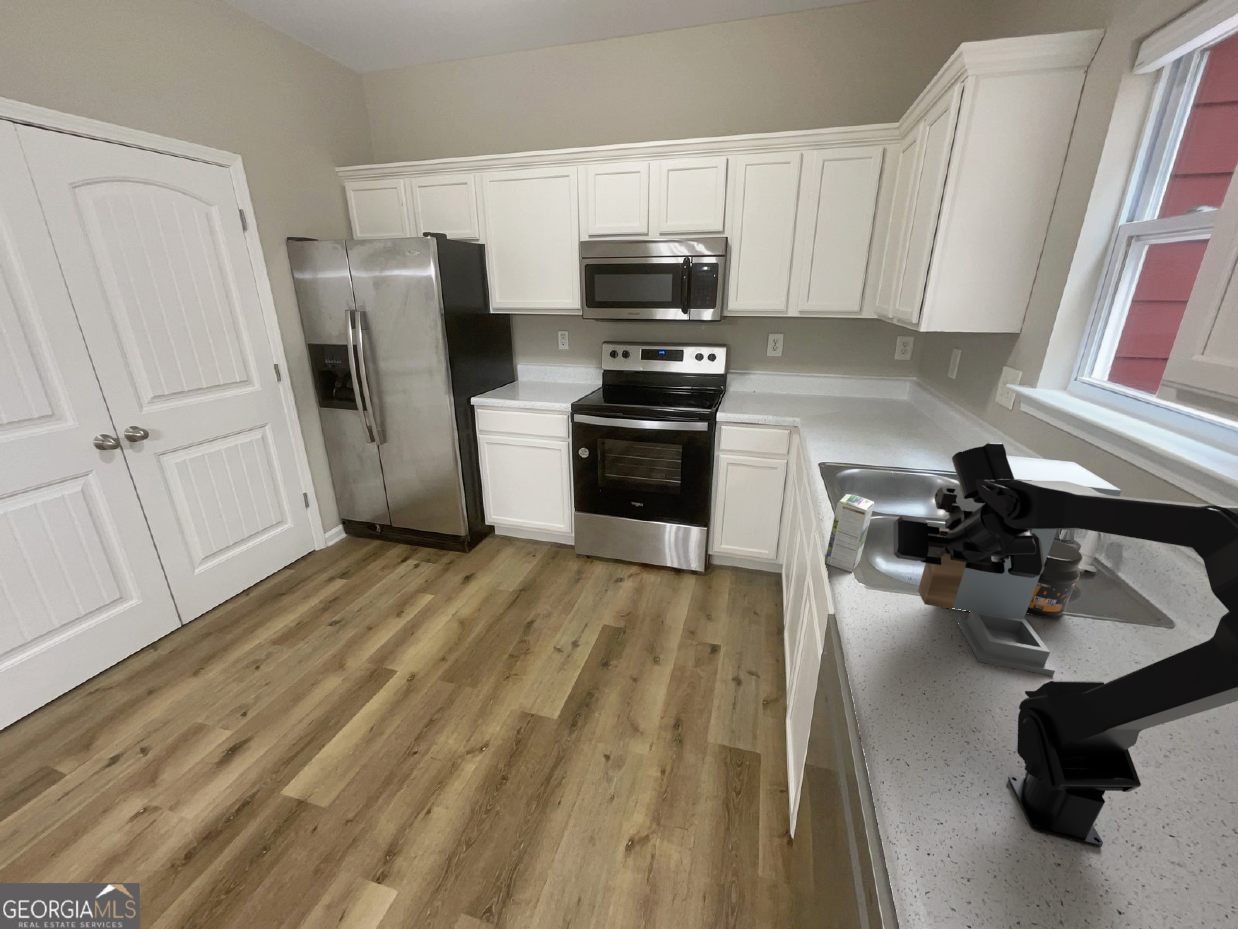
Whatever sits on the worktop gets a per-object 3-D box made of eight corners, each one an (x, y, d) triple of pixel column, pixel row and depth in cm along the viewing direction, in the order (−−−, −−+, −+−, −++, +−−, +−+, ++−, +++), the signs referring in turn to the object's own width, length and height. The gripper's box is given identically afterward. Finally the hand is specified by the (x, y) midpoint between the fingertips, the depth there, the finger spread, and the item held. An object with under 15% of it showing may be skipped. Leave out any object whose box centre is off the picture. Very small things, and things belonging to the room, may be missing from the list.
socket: (1053, 676, 76) (1060, 657, 75) (978, 661, 79) (984, 643, 78) (1023, 634, 85) (1029, 617, 84) (957, 622, 88) (962, 606, 87)
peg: (952, 609, 80) (972, 543, 76) (924, 604, 81) (943, 539, 77) (944, 594, 84) (963, 531, 80) (917, 590, 85) (935, 527, 81)
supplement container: (998, 609, 92) (1018, 552, 88) (989, 580, 101) (1007, 527, 97) (1070, 627, 87) (1095, 568, 83) (1055, 596, 96) (1077, 541, 92)
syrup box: (832, 553, 110) (844, 492, 104) (861, 562, 106) (875, 500, 101) (824, 563, 105) (836, 500, 100) (853, 573, 102) (867, 509, 97)
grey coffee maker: (1051, 660, 80) (1121, 490, 69) (959, 643, 83) (1013, 478, 73) (1017, 614, 90) (1074, 462, 80) (937, 601, 94) (981, 452, 83)
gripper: (1061, 485, 69) (1003, 522, 82) (910, 469, 73) (879, 507, 87) (1073, 564, 64) (1009, 589, 78) (912, 541, 69) (879, 569, 83)
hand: (942, 560), depth 82 cm, fingers closed on peg, 4 cm apart
